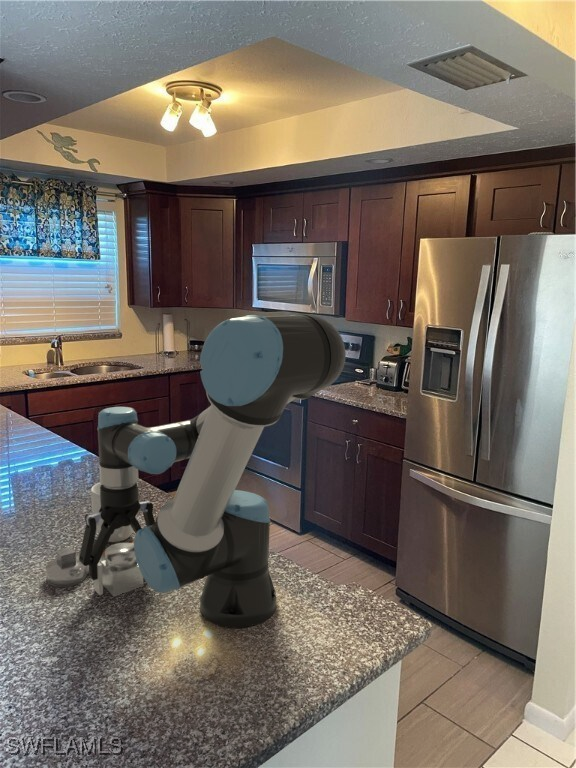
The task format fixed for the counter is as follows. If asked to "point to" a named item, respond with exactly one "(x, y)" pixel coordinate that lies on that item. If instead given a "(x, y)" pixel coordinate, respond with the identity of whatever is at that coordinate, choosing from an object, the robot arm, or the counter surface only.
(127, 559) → the metal knob on block
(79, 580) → the ratchet
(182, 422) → the robot arm
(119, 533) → the mug
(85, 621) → the counter surface
